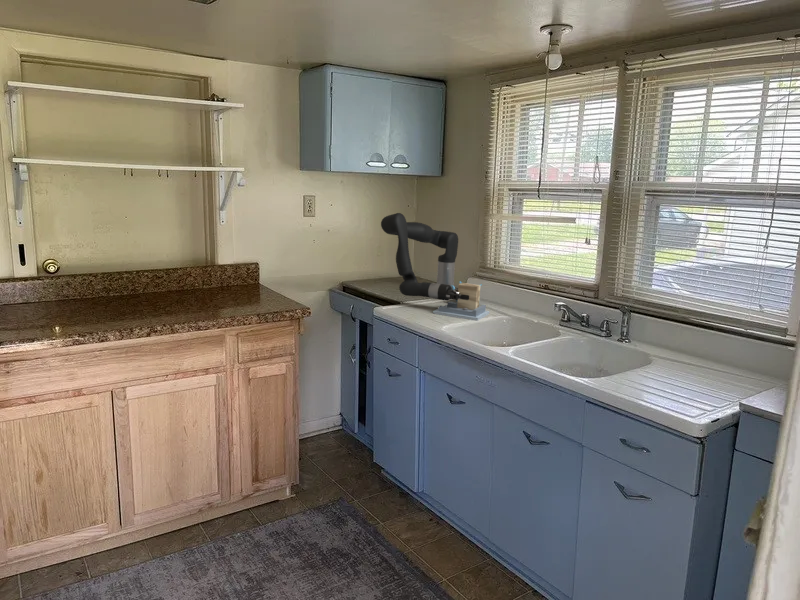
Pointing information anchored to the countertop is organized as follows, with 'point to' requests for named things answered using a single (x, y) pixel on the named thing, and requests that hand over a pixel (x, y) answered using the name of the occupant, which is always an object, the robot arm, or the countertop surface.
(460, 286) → the wooden block
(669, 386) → the countertop surface
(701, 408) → the countertop surface
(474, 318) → the grey stepped platform
